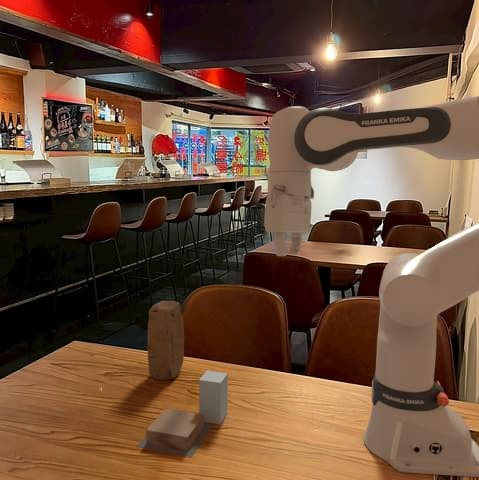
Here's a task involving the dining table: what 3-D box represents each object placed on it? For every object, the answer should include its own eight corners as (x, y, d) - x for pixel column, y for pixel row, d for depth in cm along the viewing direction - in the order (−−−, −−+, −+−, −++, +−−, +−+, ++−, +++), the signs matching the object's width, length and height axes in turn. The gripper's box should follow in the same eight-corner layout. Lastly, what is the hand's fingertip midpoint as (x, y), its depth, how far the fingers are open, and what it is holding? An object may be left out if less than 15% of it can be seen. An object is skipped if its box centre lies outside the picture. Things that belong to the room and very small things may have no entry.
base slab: (203, 427, 102) (203, 414, 101) (187, 451, 93) (187, 437, 93) (165, 421, 104) (165, 408, 104) (146, 443, 96) (146, 429, 95)
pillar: (227, 414, 108) (227, 373, 107) (220, 425, 103) (220, 382, 102) (206, 411, 109) (206, 370, 108) (199, 422, 105) (199, 379, 103)
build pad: (212, 426, 103) (212, 425, 103) (191, 458, 91) (191, 457, 91) (162, 418, 106) (162, 416, 106) (136, 448, 95) (136, 446, 95)
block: (171, 383, 123) (170, 310, 120) (145, 379, 125) (143, 307, 122) (187, 367, 133) (187, 299, 130) (163, 363, 136) (162, 296, 133)
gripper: (288, 182, 86) (287, 257, 86) (316, 191, 105) (315, 253, 105) (256, 183, 89) (255, 256, 89) (288, 192, 107) (288, 253, 108)
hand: (288, 255), depth 97 cm, fingers open, 8 cm apart
